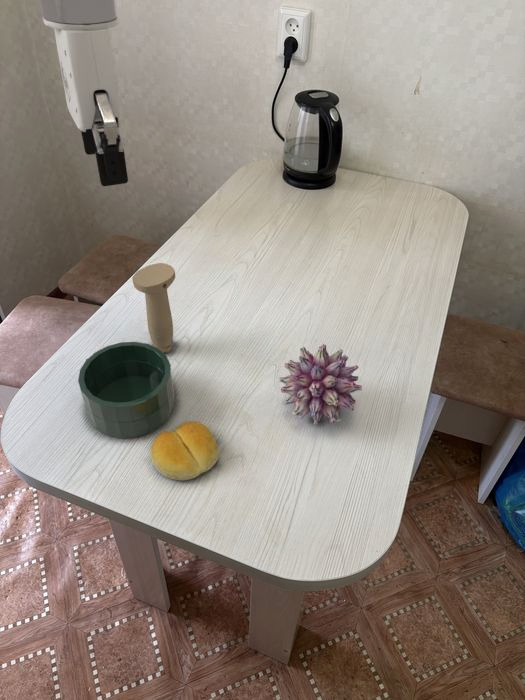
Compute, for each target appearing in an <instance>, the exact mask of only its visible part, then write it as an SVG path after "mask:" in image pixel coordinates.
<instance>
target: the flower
mask: <svg viewBox="0 0 525 700" xmlns="http://www.w3.org/2000/svg"><path fill="white" fill-rule="evenodd" d="M299 352H300V356H298V360H299V361H293V360H292V359H289V360H288V361H287V362H284V366H283V367H284V368H285V369H286V370H288V372H289V375H287V376H283V377H281V376H280V377H278V380H279V383H282V384H284V386H281V387H280V393H281V394H285V393H286V394H288V397H287V399H285V400H284V401H283V403H284V405H285V406H287V405H291V404H292V405H294V407H293V411H292V415H293V416H294V417H295V418H297V417H298V418H299V419H303V418H304V417H305V416H306V415H307V414H310V413H311V418H312V419H313V425H314V426H316V427H318V426H319V422H321V419H322V417H323V415H324V416H325V417H327V418H328V419H329V421H330V423H335V422H336V423H337V424H338V423H339V422H340V421H342V418H341V408H342V409H348V410H350V411H352V412H353V411H354V409H355V404H356V402H357V400H356V399H354V398H353V397H352V393H355V392H357V391H362V390H363V386H362V385H361V384H356V382H357V381H359V377H360V376H358V375H352V374H354V372H355V371H356V370H358V369H359V365H357V364H355V365H353V366H346V365H347V361H348V359H349V356H347V355H346V354H343V353H344V350H343V349H342V348H338V349H337V351H336V352H334V353H332V354H329V352H328V350H327V345H326V344H325V343H322V344H321V345H319V346H318V349H317V351H316V352H315V354H314V355H313V354H312V353H311V352H310V351H309V350H307V349H306V347H305V346H302V347H299Z"/></svg>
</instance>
